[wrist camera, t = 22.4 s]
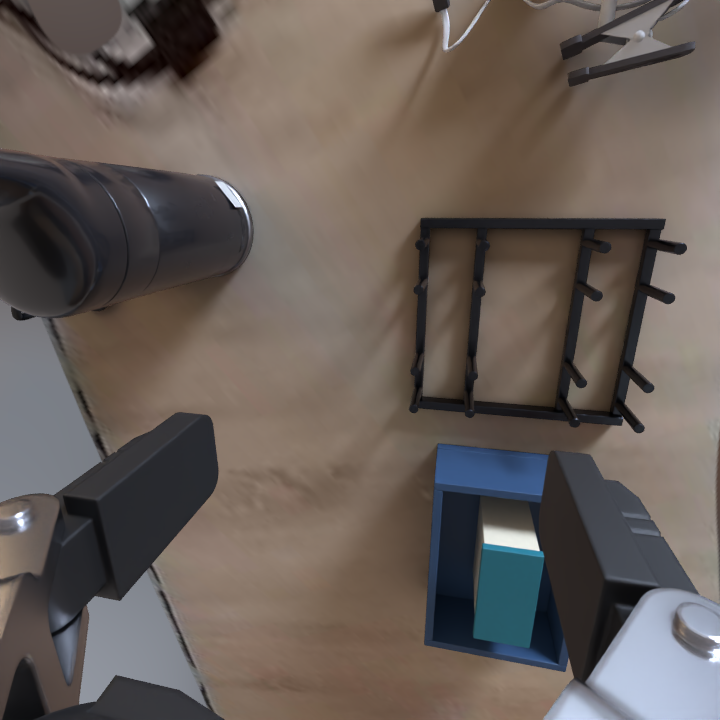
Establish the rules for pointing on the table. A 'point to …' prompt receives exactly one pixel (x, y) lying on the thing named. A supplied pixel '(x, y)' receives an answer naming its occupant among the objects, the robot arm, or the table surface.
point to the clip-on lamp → (605, 35)
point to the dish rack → (580, 289)
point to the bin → (457, 548)
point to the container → (505, 572)
